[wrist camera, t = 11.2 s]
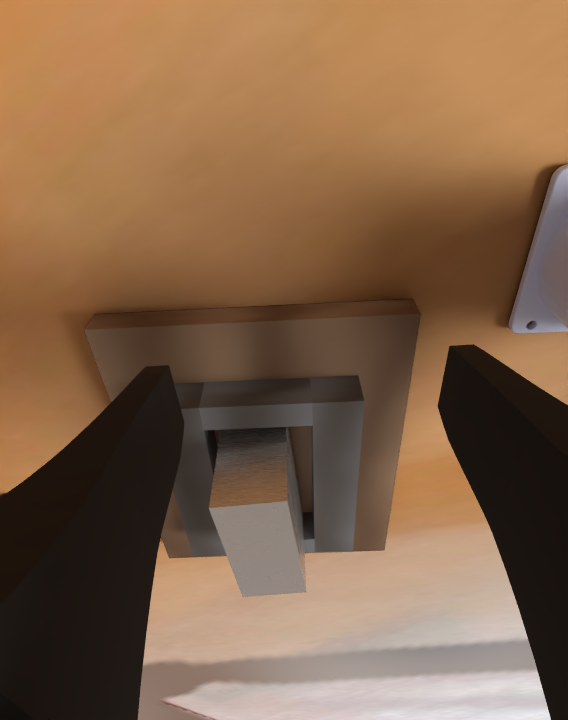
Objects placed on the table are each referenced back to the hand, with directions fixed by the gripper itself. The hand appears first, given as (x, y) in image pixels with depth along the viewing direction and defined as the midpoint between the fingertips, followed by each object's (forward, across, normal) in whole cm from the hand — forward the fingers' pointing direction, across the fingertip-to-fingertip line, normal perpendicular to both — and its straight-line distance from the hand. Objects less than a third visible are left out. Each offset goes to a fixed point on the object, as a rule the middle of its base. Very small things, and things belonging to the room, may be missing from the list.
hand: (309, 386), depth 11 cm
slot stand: (+10, +2, +13) cm, 17 cm away
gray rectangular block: (+9, +2, +13) cm, 16 cm away
